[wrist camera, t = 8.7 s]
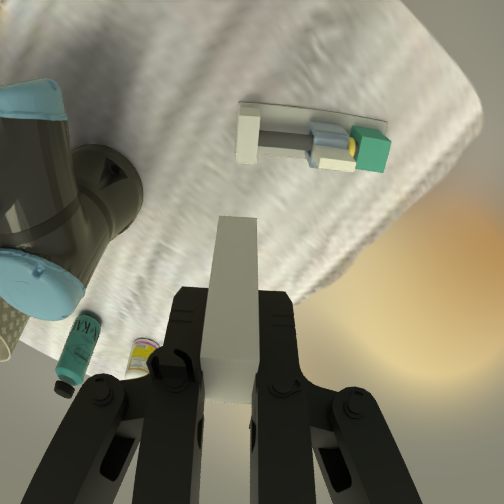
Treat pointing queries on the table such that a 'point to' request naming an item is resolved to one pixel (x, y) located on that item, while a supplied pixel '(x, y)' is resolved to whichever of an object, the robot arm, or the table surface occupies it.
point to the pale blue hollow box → (329, 147)
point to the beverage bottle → (76, 355)
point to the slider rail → (305, 134)
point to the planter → (10, 328)
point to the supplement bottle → (139, 358)
